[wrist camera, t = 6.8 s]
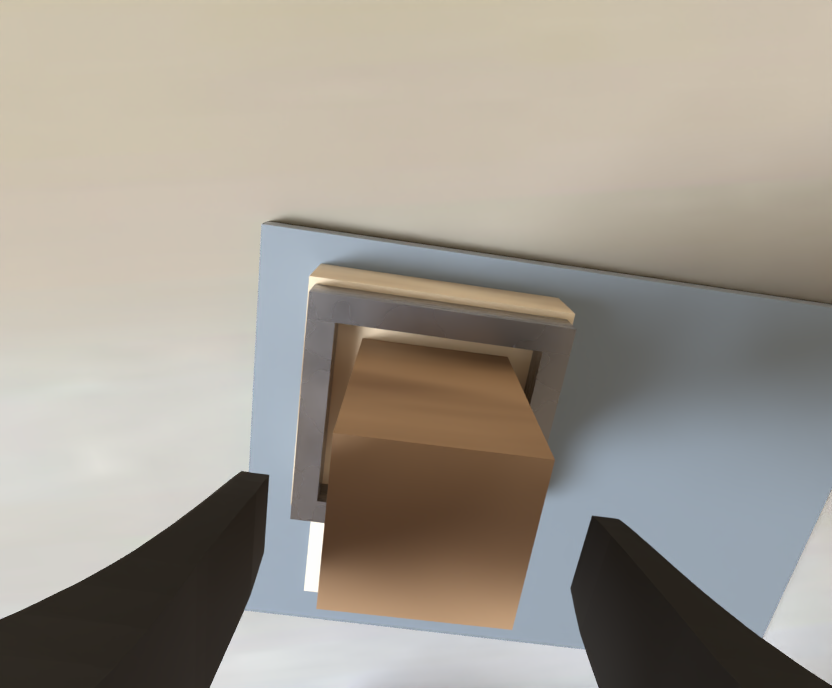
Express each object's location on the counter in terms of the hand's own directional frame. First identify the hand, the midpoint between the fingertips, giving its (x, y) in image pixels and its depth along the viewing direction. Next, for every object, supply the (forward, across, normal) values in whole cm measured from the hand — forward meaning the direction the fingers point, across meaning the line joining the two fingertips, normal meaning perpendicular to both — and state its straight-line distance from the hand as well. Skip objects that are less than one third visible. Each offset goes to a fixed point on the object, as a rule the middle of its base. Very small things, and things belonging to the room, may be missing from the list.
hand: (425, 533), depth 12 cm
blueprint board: (+8, -5, +3) cm, 10 cm away
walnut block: (+6, 0, 0) cm, 6 cm away
